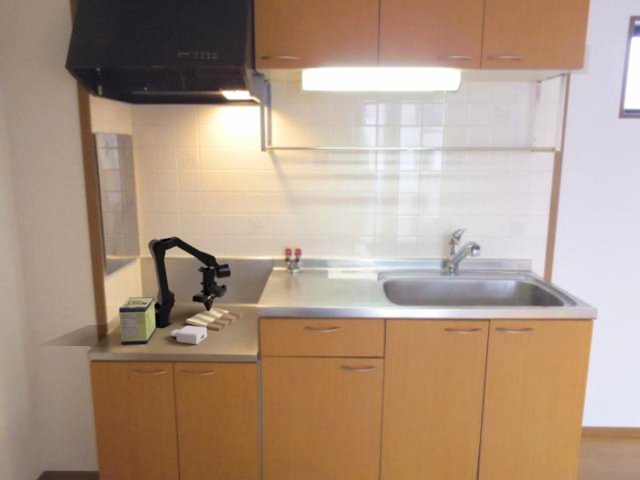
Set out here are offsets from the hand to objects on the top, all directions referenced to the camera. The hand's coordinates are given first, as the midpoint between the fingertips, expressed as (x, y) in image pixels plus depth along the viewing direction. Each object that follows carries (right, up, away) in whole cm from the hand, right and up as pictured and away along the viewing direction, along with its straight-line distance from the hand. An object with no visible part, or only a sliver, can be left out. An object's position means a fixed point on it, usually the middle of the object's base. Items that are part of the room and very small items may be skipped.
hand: (208, 310), depth 224 cm
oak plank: (+1, -3, -5) cm, 6 cm away
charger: (-3, -8, -28) cm, 29 cm away
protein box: (-23, -7, -27) cm, 36 cm away
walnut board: (+10, -4, -8) cm, 13 cm away
